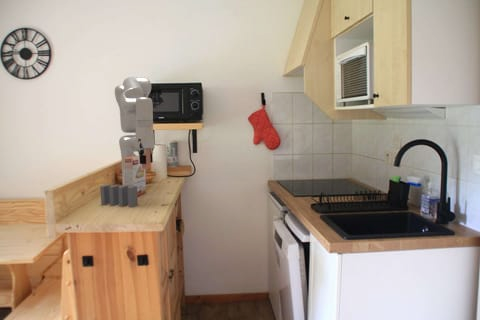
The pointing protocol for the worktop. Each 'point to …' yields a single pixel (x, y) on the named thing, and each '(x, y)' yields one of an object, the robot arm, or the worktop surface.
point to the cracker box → (134, 174)
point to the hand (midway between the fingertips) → (146, 162)
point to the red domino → (147, 159)
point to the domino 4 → (132, 196)
